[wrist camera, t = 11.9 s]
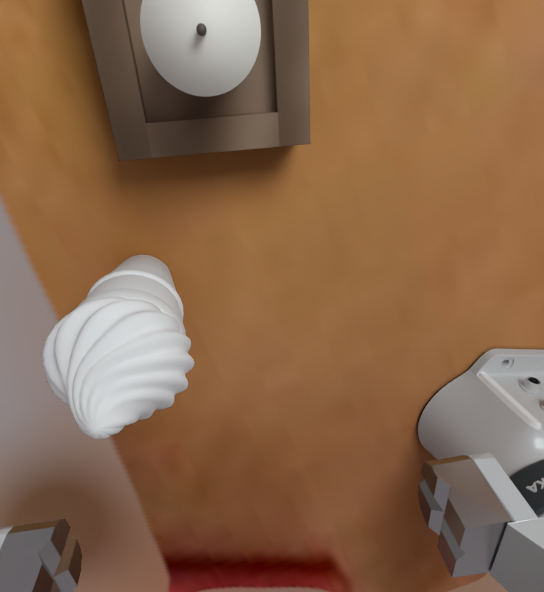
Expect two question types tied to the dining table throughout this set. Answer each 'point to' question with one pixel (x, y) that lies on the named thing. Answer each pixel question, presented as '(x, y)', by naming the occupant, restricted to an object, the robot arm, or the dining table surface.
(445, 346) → the dining table surface
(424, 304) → the dining table surface
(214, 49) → the white wax pillar
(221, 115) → the holder
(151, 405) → the soft serve ice cream cone
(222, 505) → the dining table surface
